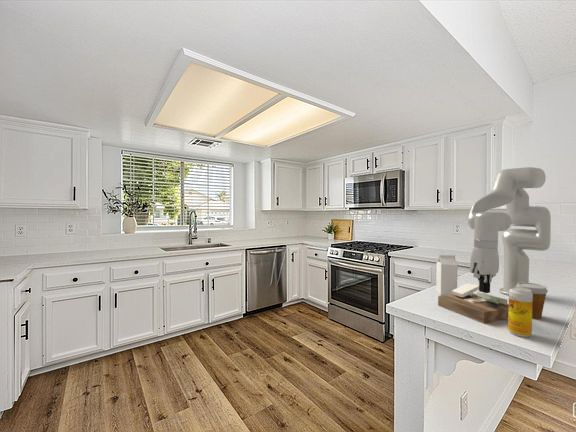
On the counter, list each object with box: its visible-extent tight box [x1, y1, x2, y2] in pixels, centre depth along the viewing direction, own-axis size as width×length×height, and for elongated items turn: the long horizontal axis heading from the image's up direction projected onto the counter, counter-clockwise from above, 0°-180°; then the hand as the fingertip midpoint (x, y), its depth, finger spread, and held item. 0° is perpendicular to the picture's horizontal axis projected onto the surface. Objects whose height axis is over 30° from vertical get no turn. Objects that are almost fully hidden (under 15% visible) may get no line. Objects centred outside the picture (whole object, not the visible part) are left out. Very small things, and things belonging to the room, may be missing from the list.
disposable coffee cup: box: [516, 282, 549, 320], centre depth 110 cm, size 10×10×12 cm
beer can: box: [507, 287, 533, 338], centre depth 95 cm, size 6×6×15 cm
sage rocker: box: [476, 291, 508, 304], centre depth 112 cm, size 10×5×2 cm, turn 110°
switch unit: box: [437, 292, 509, 324], centre depth 116 cm, size 18×20×5 cm
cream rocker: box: [452, 282, 479, 297], centre depth 122 cm, size 10×5×2 cm, turn 109°
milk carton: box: [435, 254, 459, 296], centre depth 138 cm, size 7×7×19 cm
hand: (484, 292), depth 110 cm, fingers closed
